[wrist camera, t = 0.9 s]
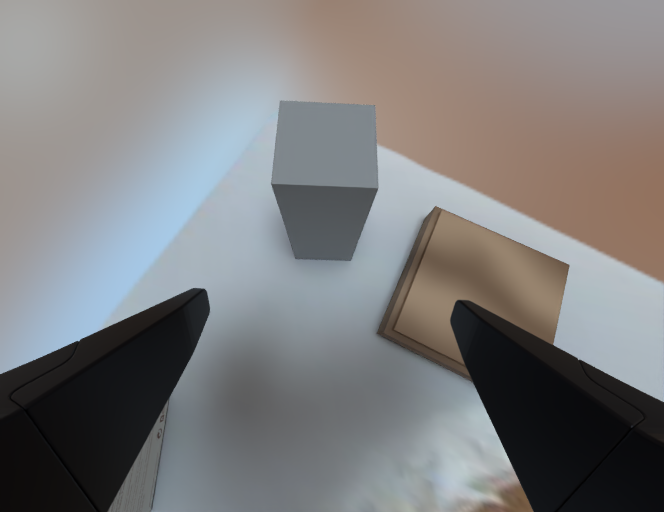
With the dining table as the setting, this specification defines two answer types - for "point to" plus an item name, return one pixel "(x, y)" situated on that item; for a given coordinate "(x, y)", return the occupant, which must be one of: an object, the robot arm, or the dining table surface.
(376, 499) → the dining table surface
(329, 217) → the block
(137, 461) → the supplement box
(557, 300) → the walnut stand
